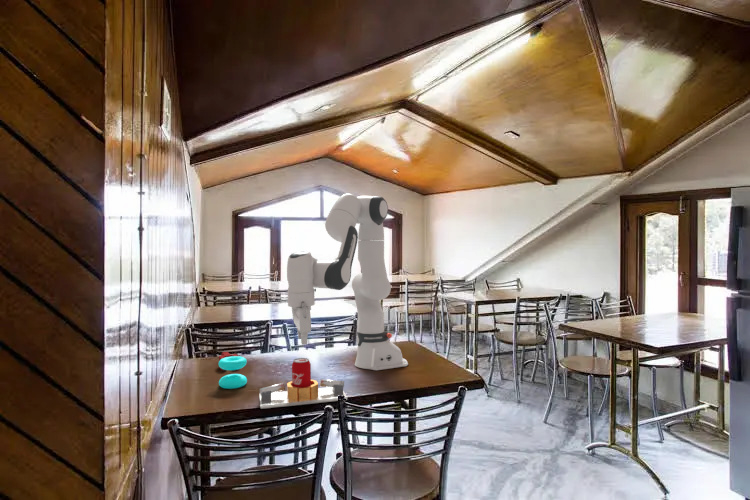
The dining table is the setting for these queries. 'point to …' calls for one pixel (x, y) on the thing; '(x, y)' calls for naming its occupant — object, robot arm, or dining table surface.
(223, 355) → the mechanical linkage
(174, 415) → the dining table surface
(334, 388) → the coupling base
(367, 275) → the robot arm
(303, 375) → the beverage can
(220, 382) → the donuts
